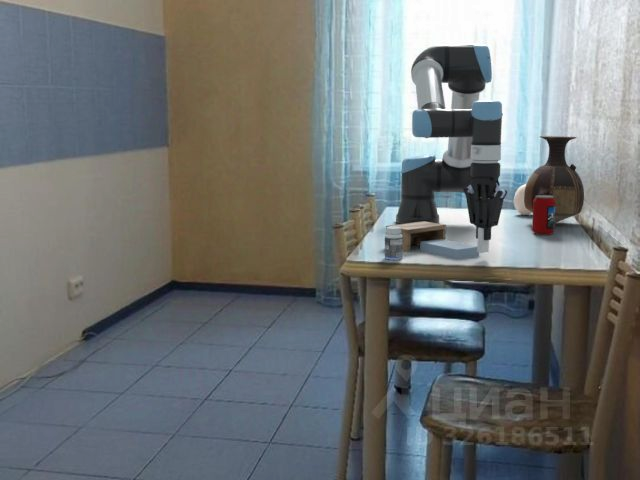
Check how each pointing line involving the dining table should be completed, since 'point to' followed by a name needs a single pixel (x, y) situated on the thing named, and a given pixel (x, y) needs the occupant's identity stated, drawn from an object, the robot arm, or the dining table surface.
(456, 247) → the panel
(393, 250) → the pill bottle
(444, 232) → the shelf
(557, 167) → the vase
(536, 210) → the beverage can
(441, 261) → the dining table surface
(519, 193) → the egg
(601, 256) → the dining table surface
